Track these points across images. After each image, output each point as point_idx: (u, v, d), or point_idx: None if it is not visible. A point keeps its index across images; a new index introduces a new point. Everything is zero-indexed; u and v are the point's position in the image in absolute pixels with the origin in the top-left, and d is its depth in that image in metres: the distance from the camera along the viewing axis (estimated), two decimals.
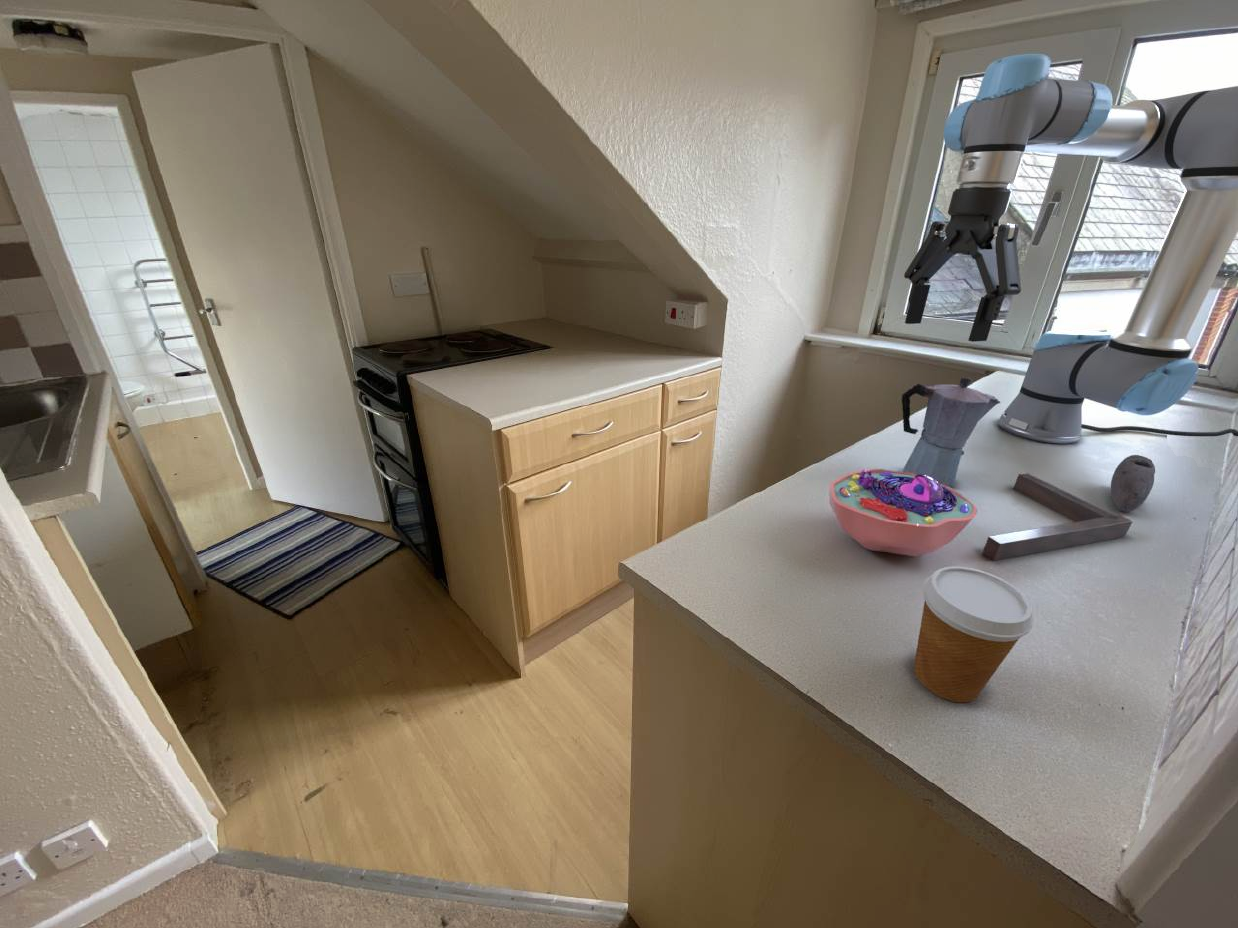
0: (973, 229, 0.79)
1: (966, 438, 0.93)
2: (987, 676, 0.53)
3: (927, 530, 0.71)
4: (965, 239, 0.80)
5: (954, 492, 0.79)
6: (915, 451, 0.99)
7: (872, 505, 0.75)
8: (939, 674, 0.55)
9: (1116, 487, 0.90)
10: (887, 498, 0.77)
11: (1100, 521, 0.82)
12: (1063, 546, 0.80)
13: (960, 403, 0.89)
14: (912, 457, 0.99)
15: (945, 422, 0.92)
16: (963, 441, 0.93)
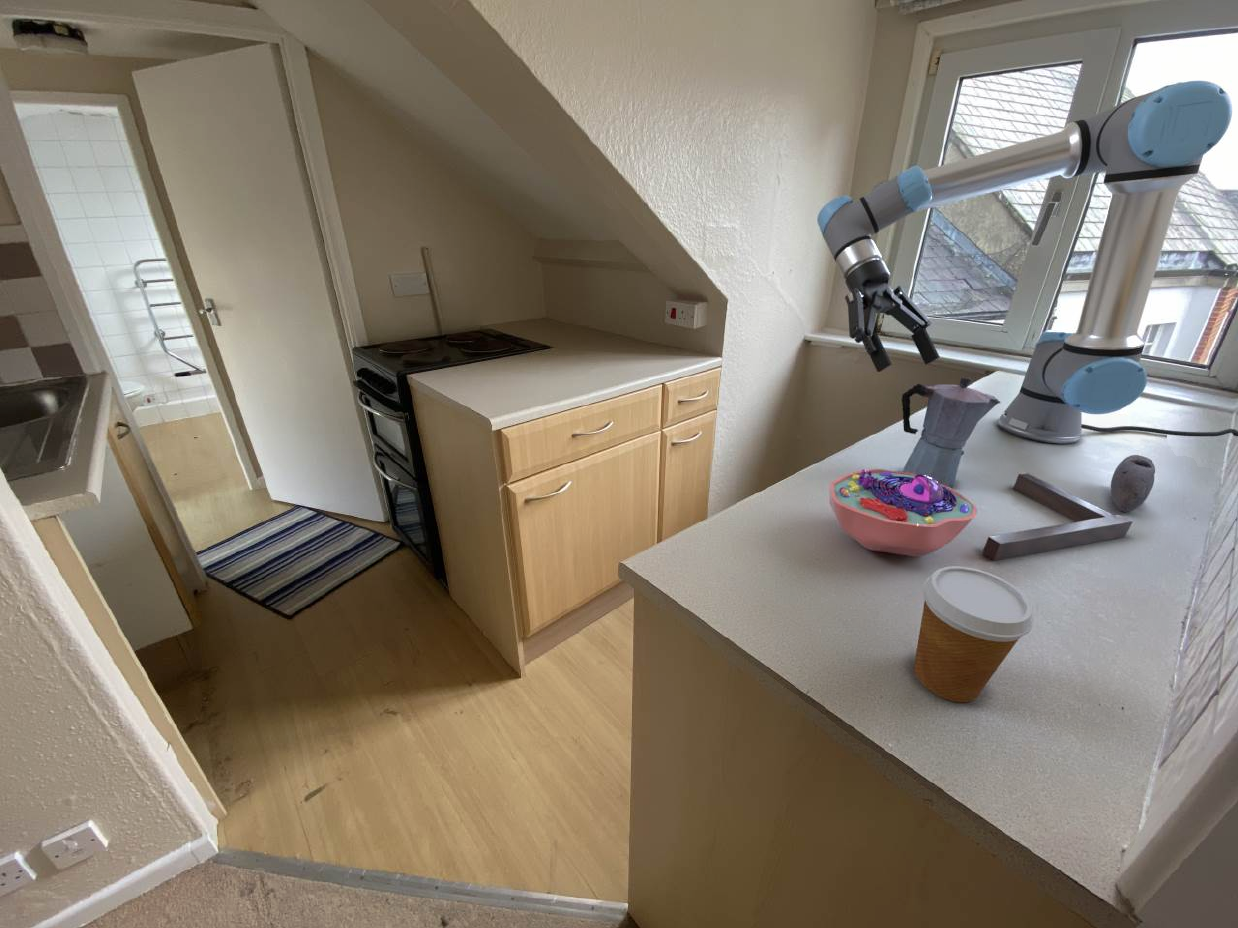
0: None
1: (966, 438, 0.93)
2: (987, 676, 0.53)
3: (927, 530, 0.71)
4: None
5: (954, 492, 0.79)
6: (915, 451, 0.99)
7: (872, 505, 0.75)
8: (939, 674, 0.55)
9: (1116, 487, 0.90)
10: (887, 498, 0.77)
11: (1100, 521, 0.82)
12: (1063, 546, 0.80)
13: (960, 403, 0.89)
14: (912, 457, 0.99)
15: (945, 422, 0.92)
16: (963, 441, 0.93)
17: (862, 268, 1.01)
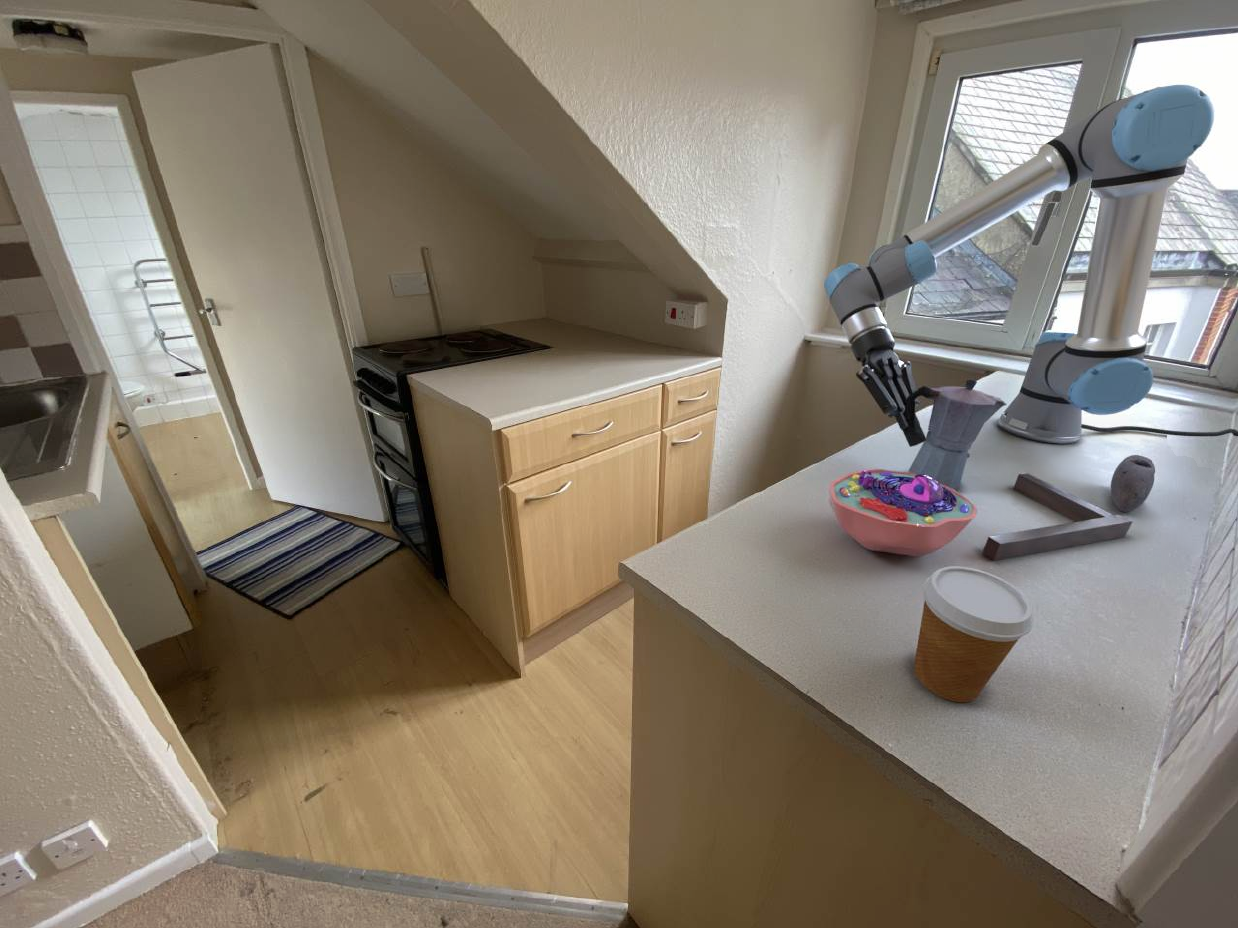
0: None
1: (972, 440, 0.92)
2: (987, 676, 0.53)
3: (927, 530, 0.71)
4: None
5: (954, 492, 0.79)
6: (920, 454, 0.98)
7: (872, 505, 0.75)
8: (939, 674, 0.55)
9: (1116, 487, 0.90)
10: (887, 498, 0.77)
11: (1100, 521, 0.82)
12: (1063, 546, 0.80)
13: (966, 406, 0.88)
14: (917, 460, 0.98)
15: (951, 424, 0.91)
16: (969, 443, 0.92)
17: (867, 336, 1.03)
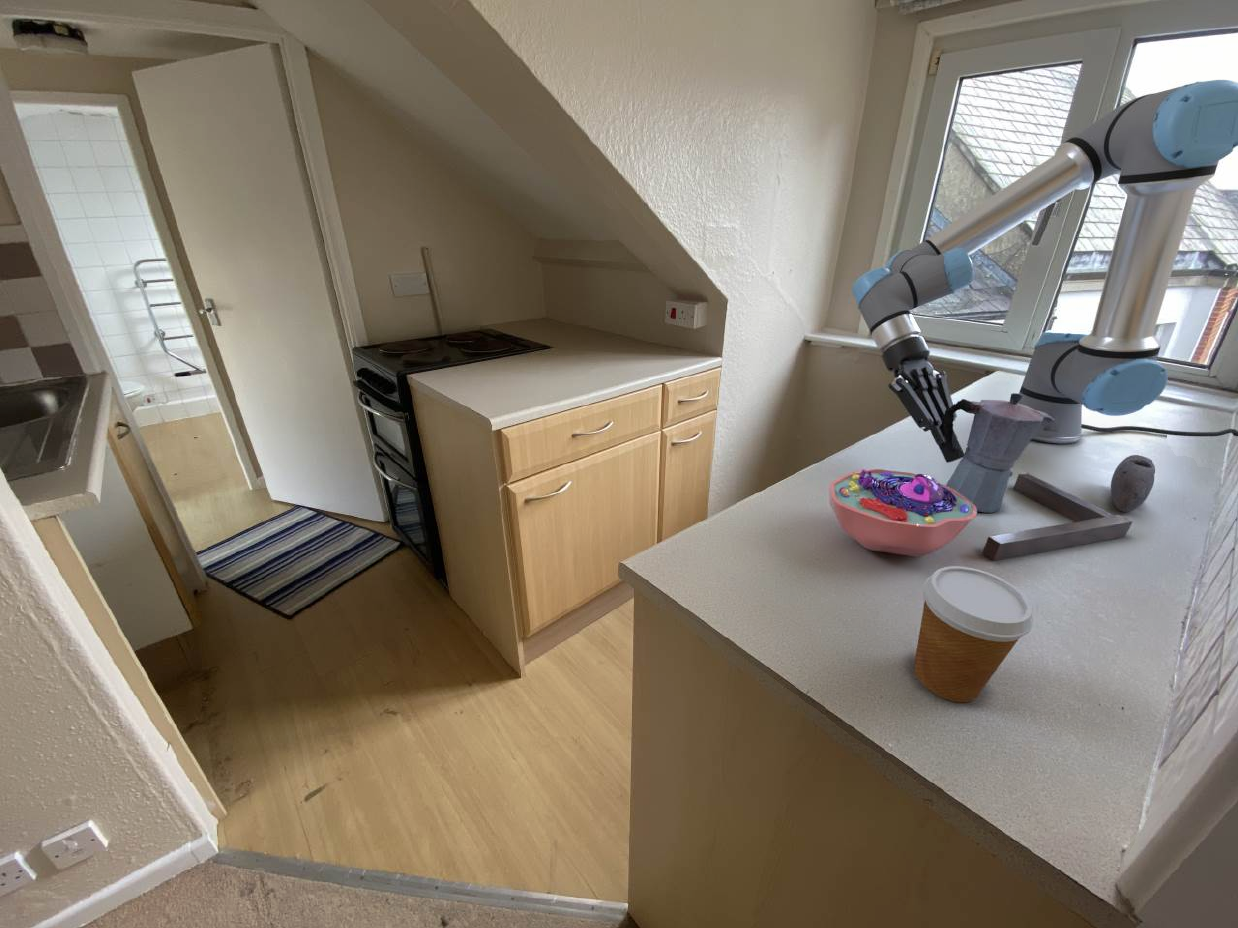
0: None
1: (1016, 459, 0.85)
2: (987, 676, 0.53)
3: (927, 530, 0.71)
4: None
5: (954, 492, 0.79)
6: (958, 471, 0.91)
7: (872, 505, 0.75)
8: (939, 674, 0.55)
9: (1116, 487, 0.90)
10: (887, 498, 0.77)
11: (1100, 521, 0.82)
12: (1063, 546, 0.80)
13: (1010, 422, 0.82)
14: (954, 477, 0.92)
15: (993, 441, 0.85)
16: (1012, 462, 0.86)
17: (900, 345, 0.97)
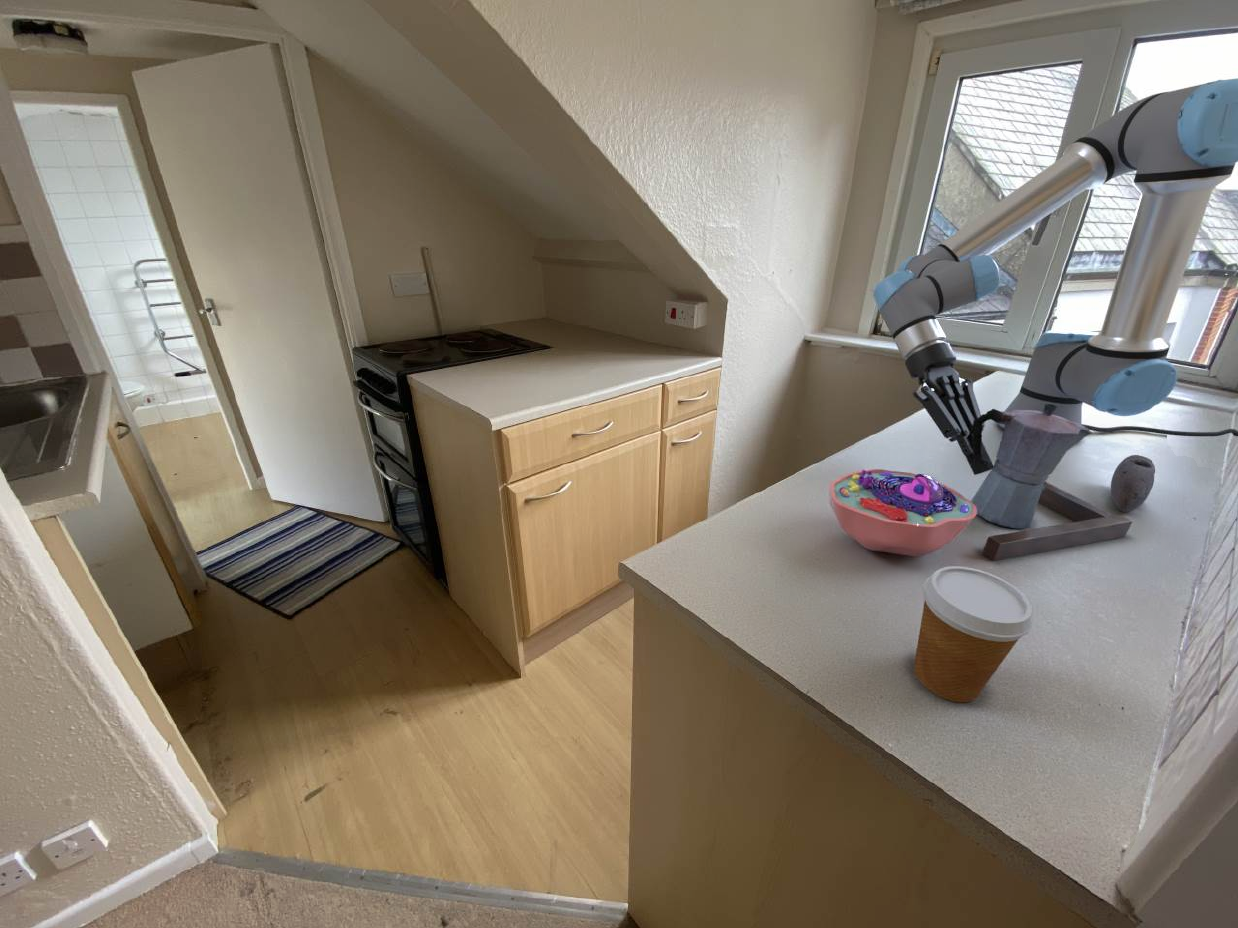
0: None
1: (1049, 473, 0.81)
2: (987, 676, 0.53)
3: (927, 530, 0.71)
4: None
5: (954, 492, 0.79)
6: (986, 484, 0.87)
7: (872, 505, 0.75)
8: (939, 674, 0.55)
9: (1116, 487, 0.90)
10: (887, 498, 0.77)
11: (1100, 521, 0.82)
12: (1063, 546, 0.80)
13: (1044, 434, 0.78)
14: (982, 490, 0.88)
15: (1025, 453, 0.81)
16: (1045, 476, 0.82)
17: (925, 352, 0.93)
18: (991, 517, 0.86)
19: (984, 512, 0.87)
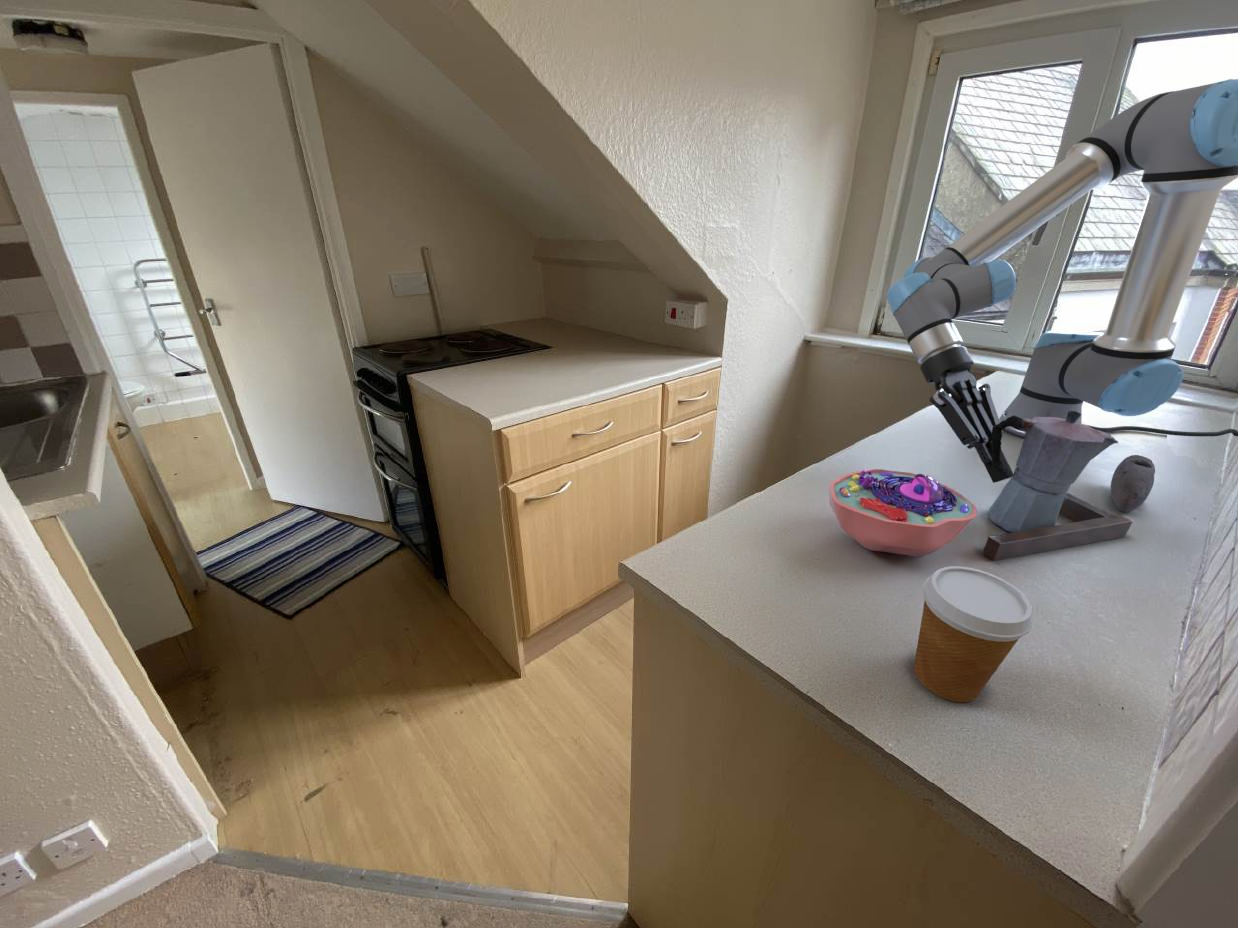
0: None
1: (1071, 482, 0.78)
2: (987, 676, 0.53)
3: (927, 530, 0.71)
4: None
5: (954, 492, 0.79)
6: (1005, 492, 0.85)
7: (872, 505, 0.75)
8: (939, 674, 0.55)
9: (1116, 487, 0.90)
10: (887, 498, 0.77)
11: (1100, 521, 0.82)
12: (1063, 546, 0.80)
13: (1066, 442, 0.75)
14: (1001, 499, 0.85)
15: (1046, 462, 0.78)
16: (1067, 485, 0.79)
17: (942, 356, 0.90)
18: (1009, 527, 0.84)
19: (1002, 521, 0.84)
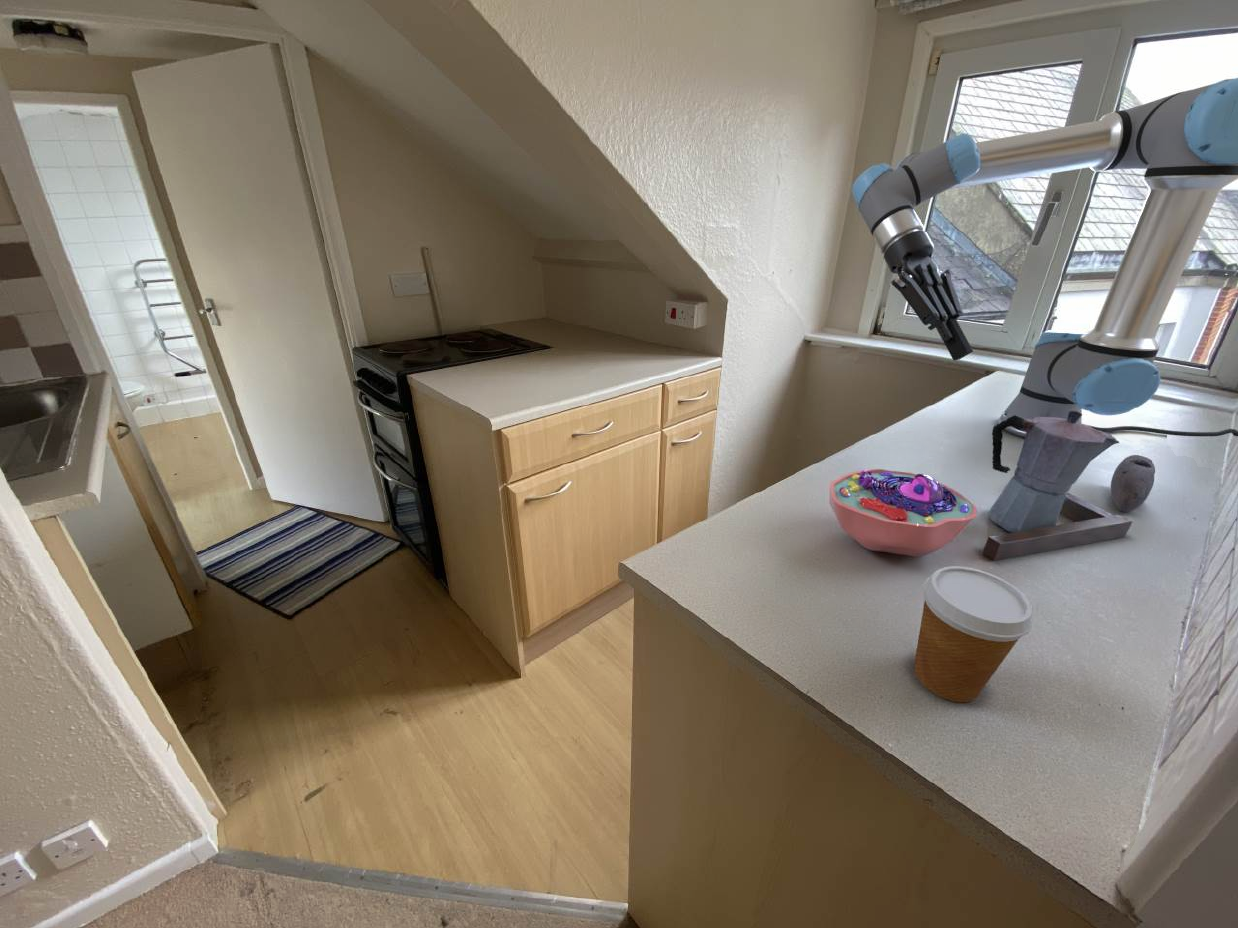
0: None
1: (1072, 482, 0.78)
2: (987, 676, 0.53)
3: (927, 530, 0.71)
4: None
5: (954, 492, 0.79)
6: (1005, 492, 0.85)
7: (872, 505, 0.75)
8: (939, 674, 0.55)
9: (1116, 487, 0.90)
10: (887, 498, 0.77)
11: (1100, 521, 0.82)
12: (1063, 546, 0.80)
13: (1067, 442, 0.75)
14: (1001, 499, 0.85)
15: (1047, 462, 0.78)
16: (1068, 485, 0.79)
17: (903, 240, 0.93)
18: (1010, 527, 0.84)
19: (1003, 521, 0.84)
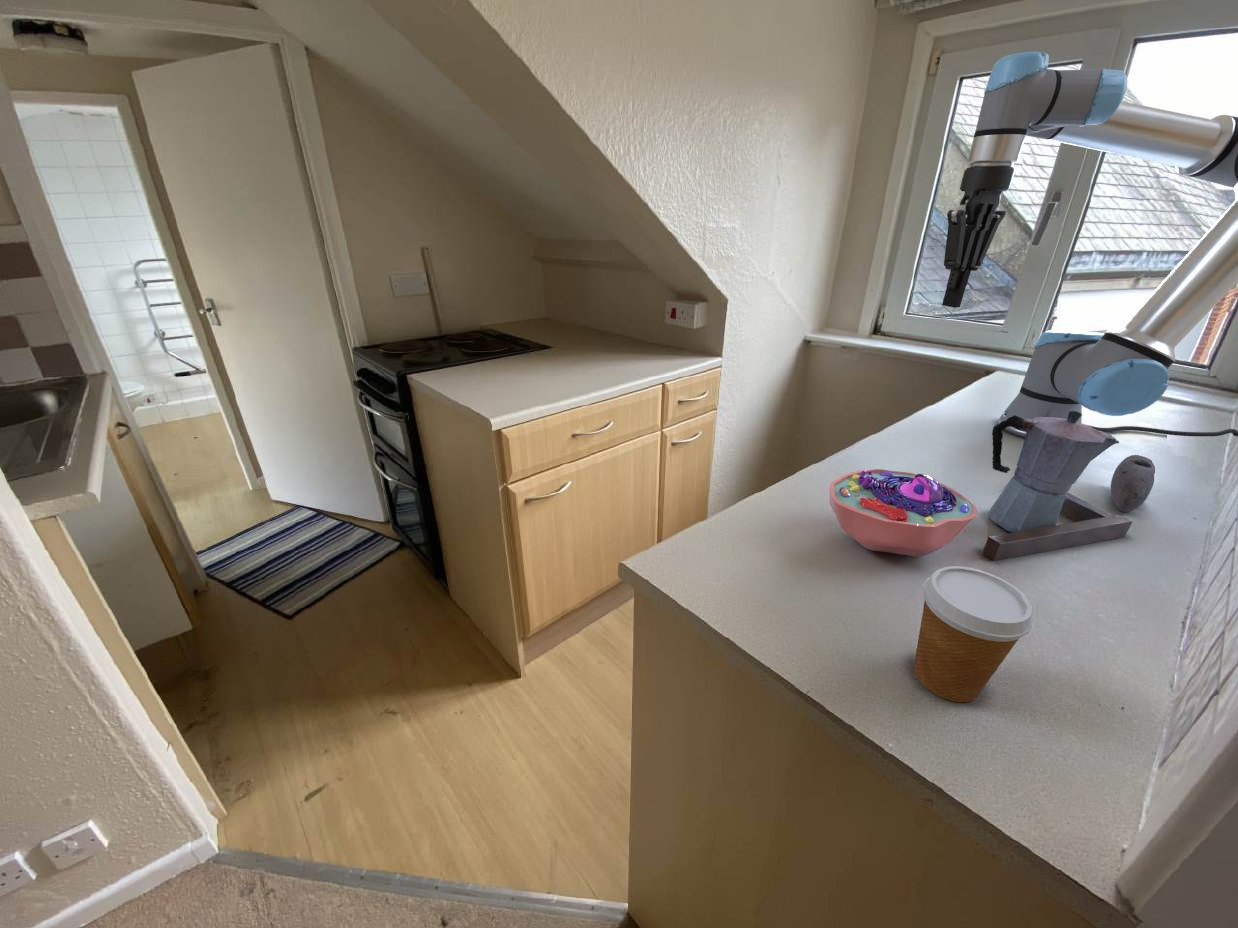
0: None
1: (1072, 482, 0.78)
2: (987, 676, 0.53)
3: (927, 530, 0.71)
4: None
5: (954, 492, 0.79)
6: (1005, 492, 0.85)
7: (872, 505, 0.75)
8: (939, 674, 0.55)
9: (1116, 487, 0.90)
10: (887, 498, 0.77)
11: (1100, 521, 0.82)
12: (1063, 546, 0.80)
13: (1067, 442, 0.75)
14: (1001, 499, 0.85)
15: (1047, 462, 0.78)
16: (1068, 485, 0.79)
17: (989, 172, 0.89)
18: (1010, 527, 0.84)
19: (1003, 521, 0.84)
